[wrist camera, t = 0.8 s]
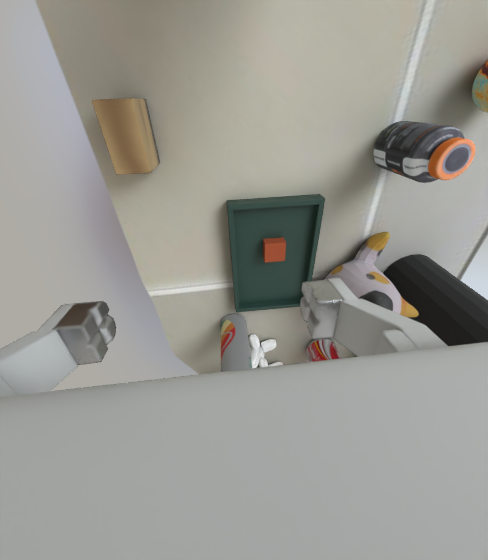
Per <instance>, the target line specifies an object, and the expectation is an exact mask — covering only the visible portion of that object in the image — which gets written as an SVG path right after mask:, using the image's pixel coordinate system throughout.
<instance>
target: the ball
mask: <svg viewBox="0 0 488 560" xmlns="http://www.w3.org/2000/svg"><path fill="white" fill-rule="evenodd" d="M472 98H473V101H474V103H475V105H476V106H477V107H478V108H479V109H480V110H482V111H484V112H487V113H488V60H487V61H486V63H485V64H484V65H483V66H482V68H481V69H480V71H479V72H478V74H477V76H476V78H475V81H474V83H473V88H472Z"/></svg>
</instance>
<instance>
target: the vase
mask: <svg viewBox="0 0 488 560" xmlns="http://www.w3.org/2000/svg"><path fill="white" fill-rule="evenodd" d="M384 275H385V276H386V277H387V278H388V279H389V280H390V281H391V282H392V284H393V285H394V286H395V288H396V289H397V290H398V292H399V293H400V295H401V297H402V298H403V299H404V300H405V301H406V302H408V303H409V304H410V305H412V306H413V307H414V308H415V309H416V310H417V311H418V313H419V314H418V316H417V317H409V319H412V320H414V321H417V322H419V323H421V324H424V325H426V326H427V327H428V328H429V329H430V330H431V331H432V332H433V333H434V334H435V335H437V336H438V337H439V338H440V339H441V340H442V341H443V342H444V343H445V344H446V345H447V346H456V345H465V344H473V343H482V342H488V300H486V299H485V298H484V297H482V296H481V295H479V294H478V293H477V292H475V291H474V290H473V289H471V288H470V287H468V286H467V285H466V284H464V283H463V282H461V281H460V280H459V279H457V278H456V277H455V276H453V275H452V274H450V273H449V272H448V271H446V270H445V269H444V268H442V267H441V266H439V265H438V264H437V263H435V262H434V261H433V260H431V259H430V258H428V257H427V256H424V255H410V256H408V257H405V258H402V259H400V260H399V261H397V262H395V263H394V264H392V265H391V266H390V267H389V268H388V269H387V270H386V272H385V273H384Z"/></svg>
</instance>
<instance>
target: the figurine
mask: <svg viewBox="0 0 488 560" xmlns="http://www.w3.org/2000/svg"><path fill="white" fill-rule="evenodd" d="M389 236H390V234H389V233H388V232H382V233H378V234H375V235H373V236H371V237H370V238H369V239H367V240H366V242H365V243H364V244H363V245H362V246H361V248H360V249H359V251H358V253H357V255H356V257H355V259H354V260H352V261H350V262H347V263H345V264H342V265H339V266H338V267H336V268H335V269H334V270H332V271H331V272H330V273H329V274H328V275H327V277H326V278H325V279H332V278H340V279H341V280H342V281H343V282H344V283H345V285H346V286H347V287H348V288H349V289H350V290H351V291H352V293H353V294H354V295H355V296H356V297H357V298H358V299H364V300H366V301H369V302H371V303H373V304H376V305H378V306H381V307H383V308H385V309H388V310H390V311H393V312H395V313H397V314H400V315H402V316H405V317H407V318H409V317H417V316H418V314H419V313H418V311H417V310H416V309H415V308H414V307H413V306H412V305H410V304H409V303H408V302H406V301H405V300H404V299H403V298H402V297H401V295H400V293H399V292H398V290H397V289H396V288H395V286H394V285H393V284H392V282H391V281H390V280H389V279H388V278H387V277H386V276H385V275H384V274H383V273H382V272H381V271H380V270H379V269H377V268H376V267H375V265H374V263H375V261H376V259H377V257H378V256H379V254H380V253H381V252H382V250H383V249H384V247H385V245H386V243H387V241H388V239H389ZM325 279H324V280H325Z"/></svg>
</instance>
